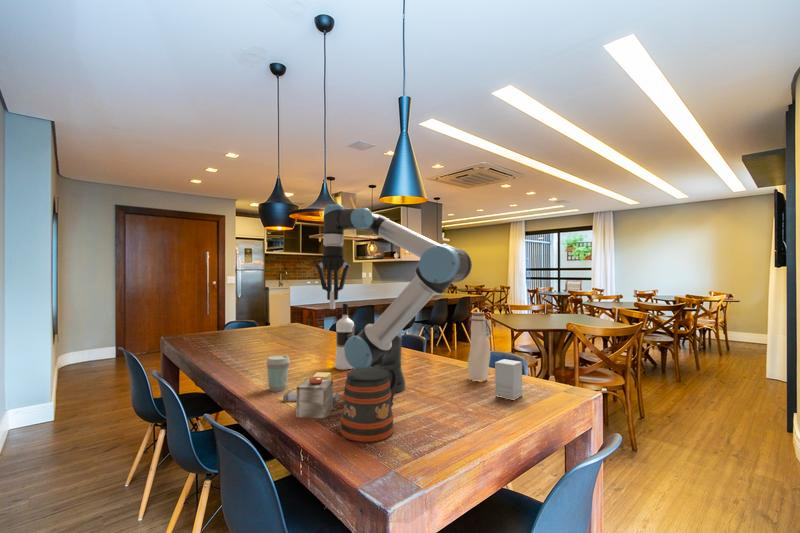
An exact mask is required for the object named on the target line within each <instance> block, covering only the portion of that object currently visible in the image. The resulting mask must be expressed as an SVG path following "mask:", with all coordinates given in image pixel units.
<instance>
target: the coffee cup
mask: <svg viewBox="0 0 800 533" xmlns="http://www.w3.org/2000/svg"><path fill="white" fill-rule="evenodd" d="M265 363H266V365H267V377H268V387H269V389H268V390H269V391H270V392H273V393H278V392H284V391H285V390H286V389H287V384H288V383H287V382H288V375H289V367H290V364H291V360H290V358H289V356H288V355H281V354H279V355H278V354H277V355H271V356H269V357H267V359H266V362H265Z"/></svg>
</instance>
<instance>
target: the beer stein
mask: <svg viewBox="0 0 800 533" xmlns="http://www.w3.org/2000/svg"><path fill="white" fill-rule="evenodd" d="M396 368H400V364H399V363H395V356H394V354H390V355H388V356H386V357H385V358H384V359H383V361H382V363H381V364H379V365H375V366H374V367H363V368H357V369H355V368H354V369H353V370H352V369H351V371H349V372H347V374H346V375H347V376H346V380H345V381H344V391H343V398H344V400H343V409H342V413H341V417H340V418H341V420H340V429H339V431H340V434H341V435H342V437H343V438H344V439H347V440H348V441H352V442H359V443H372V442H374V443H375V442H379V441H384V440H386V439H388V438H389V437H390V436H391V435H392V434H393V433H394V426H395V425H394V414H393V411H392V407H393V405H394V402H393V400H394V397H395V394H396V393H395V391H396V388H397V382H398V376H397V371H396ZM388 371H390V372H391V373H392V382H391V384H390V379H389V377H388V376H389V372H388Z"/></svg>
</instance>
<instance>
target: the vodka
mask: <svg viewBox="0 0 800 533" xmlns="http://www.w3.org/2000/svg"><path fill="white" fill-rule="evenodd" d="M335 326H336V328H335V329H336V330H335V331H336V335H335V336H336V342H335V343H336V346H335V352H336V353H335V360H334V361H335V362H334V368H335V369H336V370H338V371H348V369H350V370H352V369H354V368H353V367H352V366H350V364H349V363H348V362H347V360H346V358H345V351H344V347H345V343H346V341H347V340H348V339H349V338H351V337H352V336H355V335H354V334H355V333H354V332H355V323H354V321H353V320H352V319H351V318H349V303H346V302H344V303H342V316H341V318H340V319H338V320H337V322H336V324H335Z"/></svg>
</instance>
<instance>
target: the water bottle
mask: <svg viewBox="0 0 800 533" xmlns="http://www.w3.org/2000/svg"><path fill="white" fill-rule="evenodd" d="M469 321H471V324H470V347H469V348H470V349H469V350H470V351H469V355H468V359H467V371H468V379H469V378H470V379H473V380H485V379H487V378H488V377H489V370H490V367H489V366H490V362H491V345H490V339H489V338H491V337H492V331H491V322H490V319H487V318H486V315H485V312H482V311H474V312H473V311H472V315H471V317H469ZM487 380H488V379H487Z"/></svg>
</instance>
